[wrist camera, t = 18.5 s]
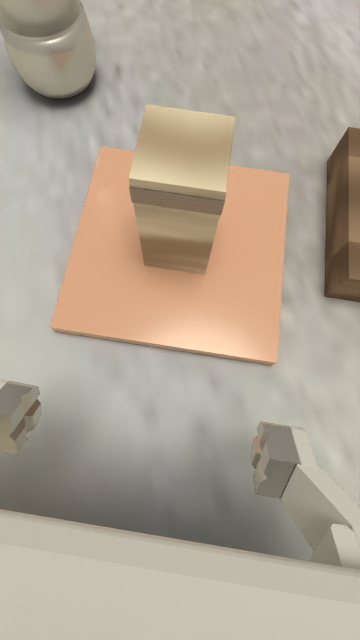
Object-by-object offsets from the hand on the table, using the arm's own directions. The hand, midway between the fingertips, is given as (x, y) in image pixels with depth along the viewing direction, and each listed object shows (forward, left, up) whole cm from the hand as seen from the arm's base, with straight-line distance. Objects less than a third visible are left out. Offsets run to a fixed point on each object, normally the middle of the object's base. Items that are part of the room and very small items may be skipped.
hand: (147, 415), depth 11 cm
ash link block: (+11, 0, -7) cm, 13 cm away
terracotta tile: (+11, 0, -8) cm, 13 cm away
